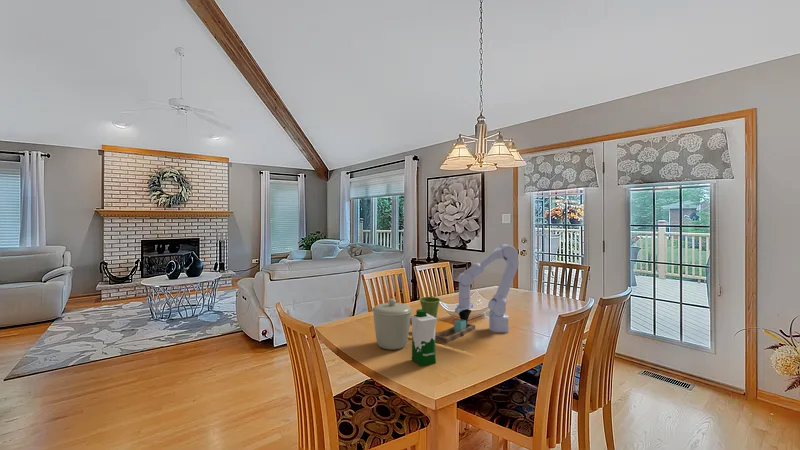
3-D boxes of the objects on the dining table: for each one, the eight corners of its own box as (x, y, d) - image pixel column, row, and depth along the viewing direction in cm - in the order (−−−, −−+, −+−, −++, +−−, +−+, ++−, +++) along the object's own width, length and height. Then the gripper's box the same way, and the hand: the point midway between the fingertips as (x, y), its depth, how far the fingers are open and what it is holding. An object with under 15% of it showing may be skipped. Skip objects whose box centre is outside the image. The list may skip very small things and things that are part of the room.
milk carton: (427, 355, 151) (427, 307, 150) (439, 363, 143) (439, 313, 142) (408, 359, 147) (409, 310, 146) (420, 367, 139) (420, 316, 138)
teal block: (459, 329, 181) (459, 318, 181) (466, 331, 178) (466, 320, 178) (454, 332, 177) (454, 321, 177) (460, 334, 174) (460, 322, 174)
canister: (366, 341, 167) (366, 296, 166) (402, 336, 174) (402, 292, 173) (380, 356, 150) (380, 305, 149) (419, 349, 157) (419, 301, 156)
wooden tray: (461, 327, 187) (462, 322, 187) (476, 331, 182) (476, 325, 182) (433, 341, 167) (433, 334, 167) (448, 345, 162) (448, 339, 162)
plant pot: (415, 317, 205) (415, 297, 204) (433, 315, 210) (433, 295, 209) (425, 323, 194) (425, 302, 194) (444, 320, 199) (444, 300, 199)
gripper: (464, 293, 188) (464, 319, 189) (449, 298, 177) (449, 326, 178) (477, 295, 184) (476, 322, 184) (462, 301, 173) (461, 329, 173)
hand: (464, 324), depth 181 cm, fingers closed
